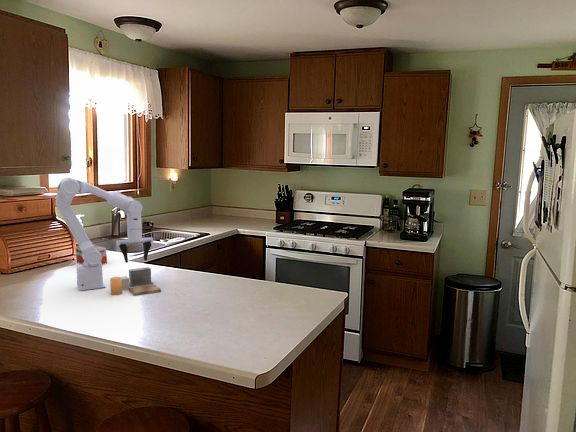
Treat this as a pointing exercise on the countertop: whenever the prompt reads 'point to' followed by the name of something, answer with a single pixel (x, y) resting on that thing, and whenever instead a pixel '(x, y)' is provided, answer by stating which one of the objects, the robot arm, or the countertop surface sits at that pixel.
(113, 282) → the cylinder
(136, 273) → the housing
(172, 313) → the countertop surface
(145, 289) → the mat
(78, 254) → the medicine box
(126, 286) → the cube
